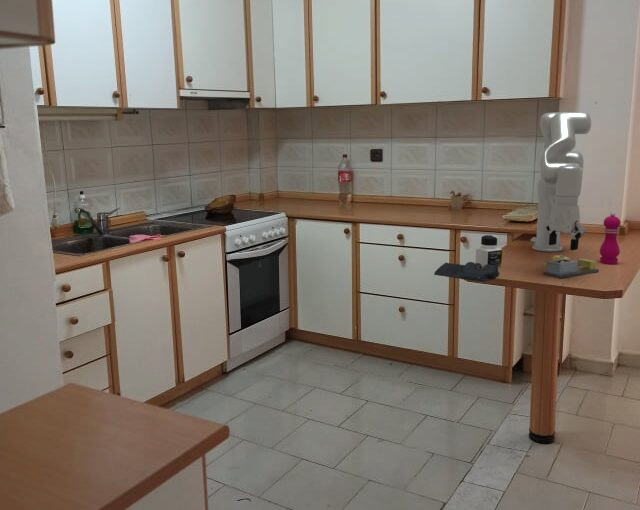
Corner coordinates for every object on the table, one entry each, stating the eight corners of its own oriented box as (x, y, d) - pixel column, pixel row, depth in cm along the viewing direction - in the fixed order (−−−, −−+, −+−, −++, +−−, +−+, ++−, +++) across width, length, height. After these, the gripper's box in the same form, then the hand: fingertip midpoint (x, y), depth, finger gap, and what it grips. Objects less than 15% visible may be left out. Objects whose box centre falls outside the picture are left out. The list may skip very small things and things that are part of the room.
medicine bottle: (487, 269, 244) (488, 238, 241) (474, 265, 250) (476, 235, 247) (501, 267, 247) (503, 236, 244) (488, 263, 253) (490, 233, 251)
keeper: (543, 274, 235) (543, 260, 234) (580, 267, 244) (581, 255, 243) (560, 278, 228) (561, 264, 227) (598, 272, 237) (599, 258, 236)
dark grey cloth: (447, 268, 248) (448, 256, 247) (503, 275, 236) (504, 262, 235) (430, 276, 236) (430, 263, 235) (487, 284, 223) (488, 270, 222)
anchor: (552, 261, 256) (553, 254, 256) (558, 260, 258) (558, 253, 257) (564, 263, 251) (565, 257, 251) (570, 263, 253) (570, 256, 252)
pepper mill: (620, 264, 249) (625, 213, 245) (600, 264, 250) (605, 213, 246) (616, 260, 256) (620, 211, 251) (596, 260, 257) (600, 210, 253)
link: (546, 271, 234) (546, 261, 233) (563, 269, 238) (564, 258, 237) (559, 275, 229) (560, 264, 228) (576, 272, 233) (577, 261, 232)
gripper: (540, 198, 234) (537, 244, 238) (579, 204, 219) (575, 253, 223) (554, 196, 237) (551, 241, 241) (594, 202, 223) (590, 250, 227)
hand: (563, 247), depth 232 cm, fingers open, 9 cm apart
